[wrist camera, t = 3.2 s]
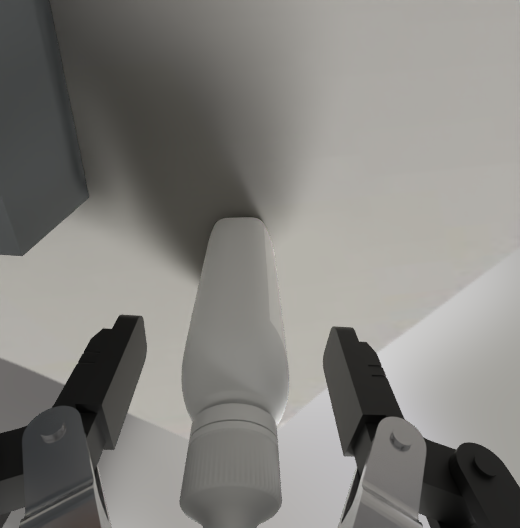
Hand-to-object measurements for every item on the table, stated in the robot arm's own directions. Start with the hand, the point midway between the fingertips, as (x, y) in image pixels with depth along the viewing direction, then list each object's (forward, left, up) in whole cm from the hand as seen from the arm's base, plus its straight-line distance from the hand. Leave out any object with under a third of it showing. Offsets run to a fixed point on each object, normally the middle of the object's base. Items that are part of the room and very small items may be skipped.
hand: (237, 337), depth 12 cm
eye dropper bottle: (0, 0, -5) cm, 5 cm away
